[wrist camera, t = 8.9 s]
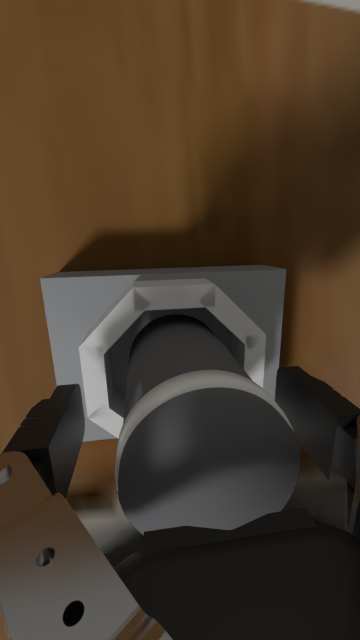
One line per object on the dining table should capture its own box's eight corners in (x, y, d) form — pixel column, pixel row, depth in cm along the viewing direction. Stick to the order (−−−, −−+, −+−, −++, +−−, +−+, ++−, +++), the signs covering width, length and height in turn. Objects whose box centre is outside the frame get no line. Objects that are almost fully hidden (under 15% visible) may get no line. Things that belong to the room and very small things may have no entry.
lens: (221, 309, 15) (313, 382, 7) (220, 396, 16) (295, 537, 8) (123, 315, 14) (104, 402, 6) (130, 404, 15) (121, 566, 8)
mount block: (262, 264, 17) (308, 273, 12) (255, 395, 20) (291, 444, 15) (58, 271, 16) (22, 284, 11) (77, 411, 18) (55, 471, 13)
